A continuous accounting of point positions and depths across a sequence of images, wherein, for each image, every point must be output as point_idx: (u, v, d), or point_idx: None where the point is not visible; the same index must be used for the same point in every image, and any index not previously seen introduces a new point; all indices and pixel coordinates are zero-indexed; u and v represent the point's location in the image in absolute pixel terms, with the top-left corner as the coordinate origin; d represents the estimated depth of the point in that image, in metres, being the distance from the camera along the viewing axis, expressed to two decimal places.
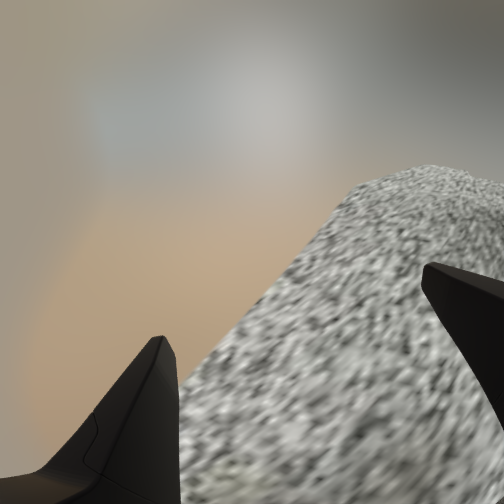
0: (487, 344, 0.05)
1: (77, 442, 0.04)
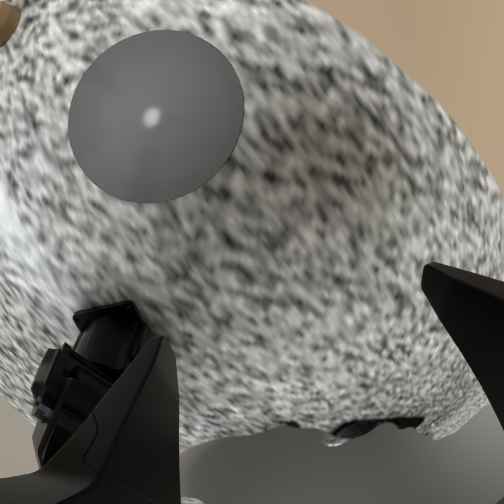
0: (487, 344, 0.05)
1: (77, 442, 0.04)
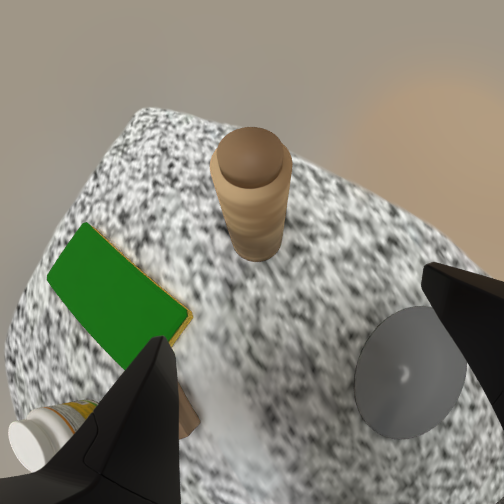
0: (487, 344, 0.05)
1: (77, 442, 0.04)
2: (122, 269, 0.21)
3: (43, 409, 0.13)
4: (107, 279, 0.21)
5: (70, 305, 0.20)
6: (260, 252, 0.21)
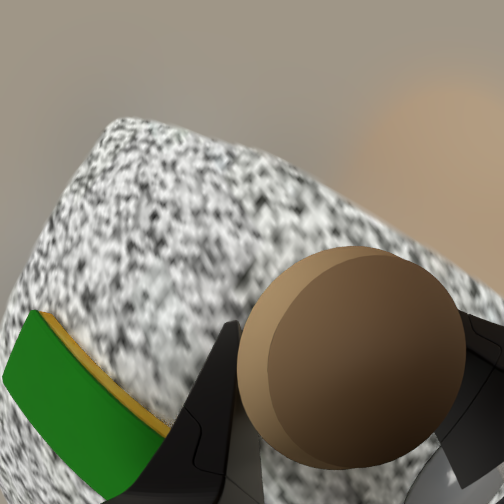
0: None
1: (176, 444, 0.04)
2: (90, 394, 0.12)
3: None
4: (73, 405, 0.12)
5: (36, 425, 0.11)
6: None
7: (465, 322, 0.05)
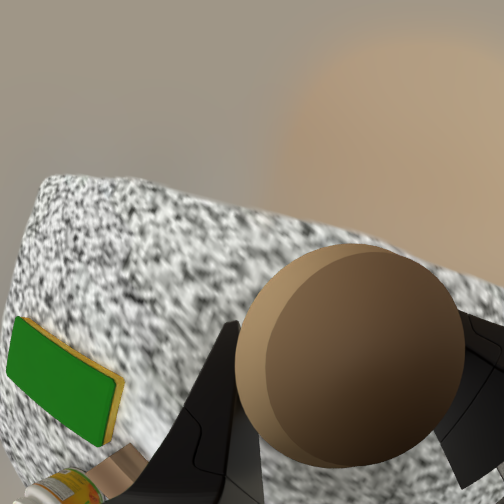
0: None
1: (176, 444, 0.04)
2: (54, 354, 0.19)
3: (33, 486, 0.10)
4: (47, 365, 0.18)
5: (30, 394, 0.17)
6: None
7: (465, 322, 0.05)
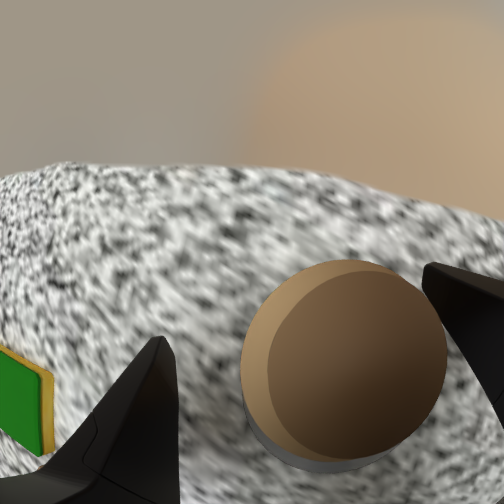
0: (487, 344, 0.05)
1: (76, 442, 0.04)
2: None
3: None
4: None
5: None
6: None
7: None
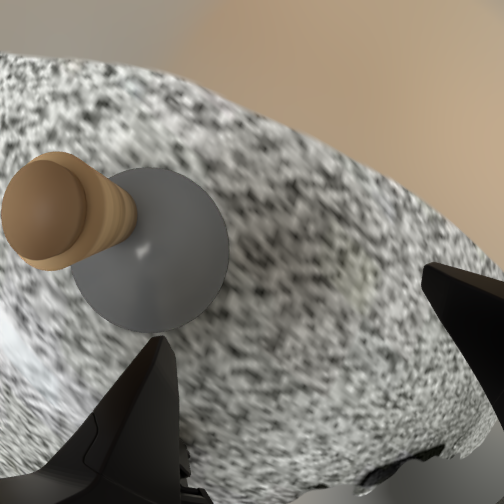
0: (487, 344, 0.05)
1: (77, 442, 0.04)
2: None
3: None
4: None
5: None
6: None
7: None
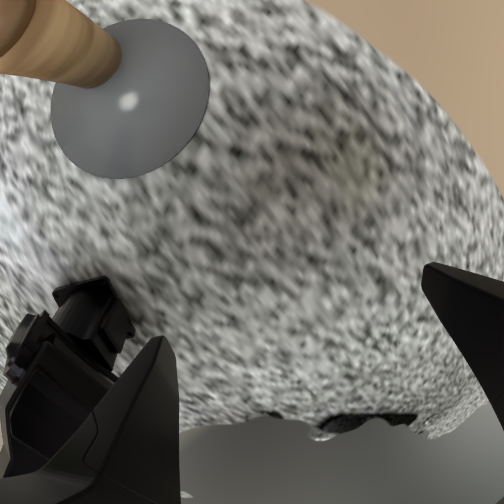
0: (487, 344, 0.05)
1: (77, 442, 0.04)
2: None
3: None
4: None
5: None
6: (74, 85, 0.12)
7: None
